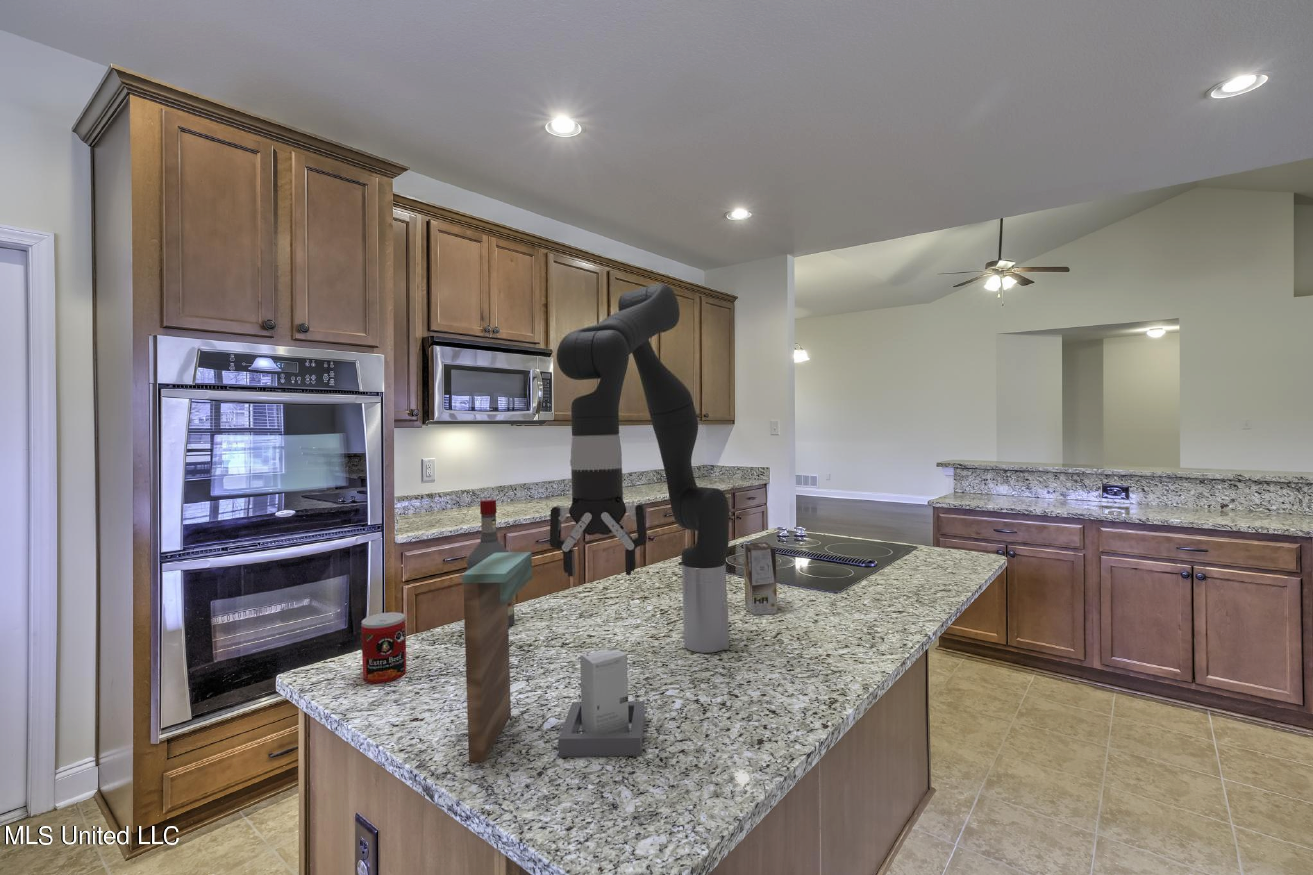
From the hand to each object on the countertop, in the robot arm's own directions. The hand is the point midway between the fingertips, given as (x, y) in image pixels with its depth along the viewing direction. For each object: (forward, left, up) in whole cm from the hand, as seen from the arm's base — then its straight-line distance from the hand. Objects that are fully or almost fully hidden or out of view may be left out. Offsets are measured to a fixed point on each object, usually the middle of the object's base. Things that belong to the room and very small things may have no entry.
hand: (599, 574), depth 89 cm
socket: (0, 0, -24) cm, 24 cm away
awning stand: (+15, 0, -24) cm, 28 cm away
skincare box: (0, 0, -24) cm, 24 cm away
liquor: (+33, -52, -24) cm, 66 cm away
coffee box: (-32, -62, -24) cm, 74 cm away
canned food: (+45, -24, -24) cm, 56 cm away
